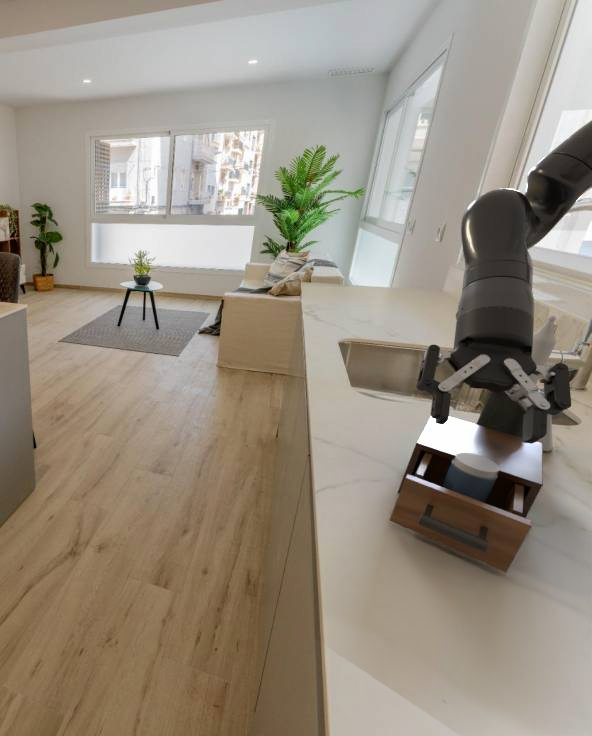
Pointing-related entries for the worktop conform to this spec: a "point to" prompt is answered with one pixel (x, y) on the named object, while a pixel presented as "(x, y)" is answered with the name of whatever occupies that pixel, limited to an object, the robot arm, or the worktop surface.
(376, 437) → the worktop surface
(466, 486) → the blue tumbler
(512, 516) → the drawer
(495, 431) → the cabinet
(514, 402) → the candle
